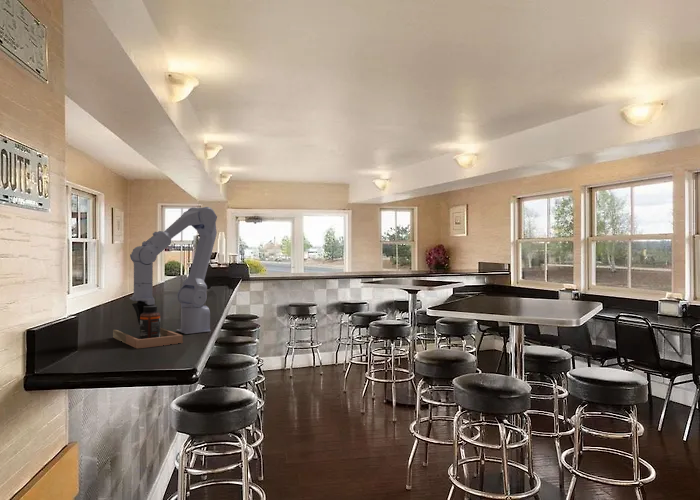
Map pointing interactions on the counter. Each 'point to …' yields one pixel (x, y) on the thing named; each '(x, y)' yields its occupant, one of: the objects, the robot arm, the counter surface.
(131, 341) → the bay
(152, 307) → the supplement bottle
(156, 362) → the counter surface
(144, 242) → the robot arm
